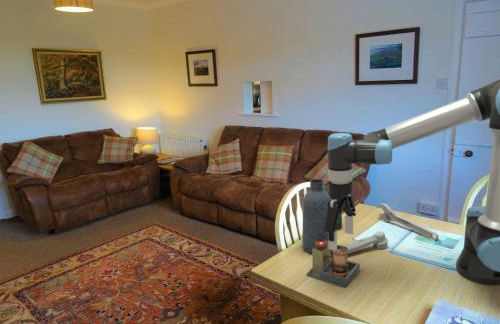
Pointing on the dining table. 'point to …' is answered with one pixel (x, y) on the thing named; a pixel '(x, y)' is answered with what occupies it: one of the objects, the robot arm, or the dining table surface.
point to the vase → (314, 214)
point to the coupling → (340, 261)
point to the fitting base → (329, 266)
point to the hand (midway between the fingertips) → (341, 241)
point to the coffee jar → (339, 224)
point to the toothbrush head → (367, 242)
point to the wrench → (405, 222)
